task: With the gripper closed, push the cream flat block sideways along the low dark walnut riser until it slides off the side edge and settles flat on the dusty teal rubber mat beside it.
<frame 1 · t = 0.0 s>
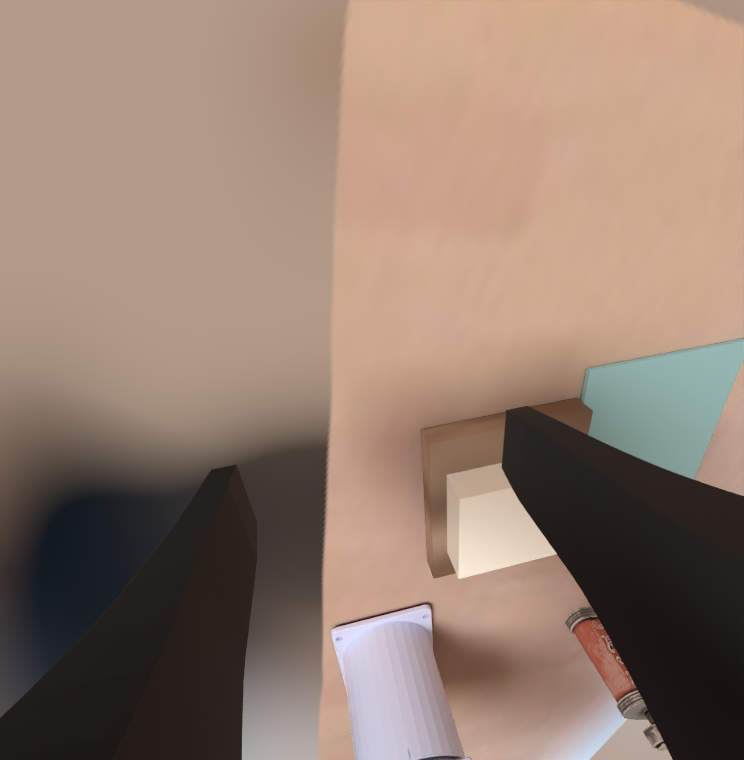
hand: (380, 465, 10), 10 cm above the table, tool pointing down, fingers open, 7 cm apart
riser: (495, 486, 27), on the table
lighter: (597, 615, 39), on the table
mat: (638, 454, 28), on the table
cream flat block: (498, 504, 25), point 1 cm above the table, touching riser
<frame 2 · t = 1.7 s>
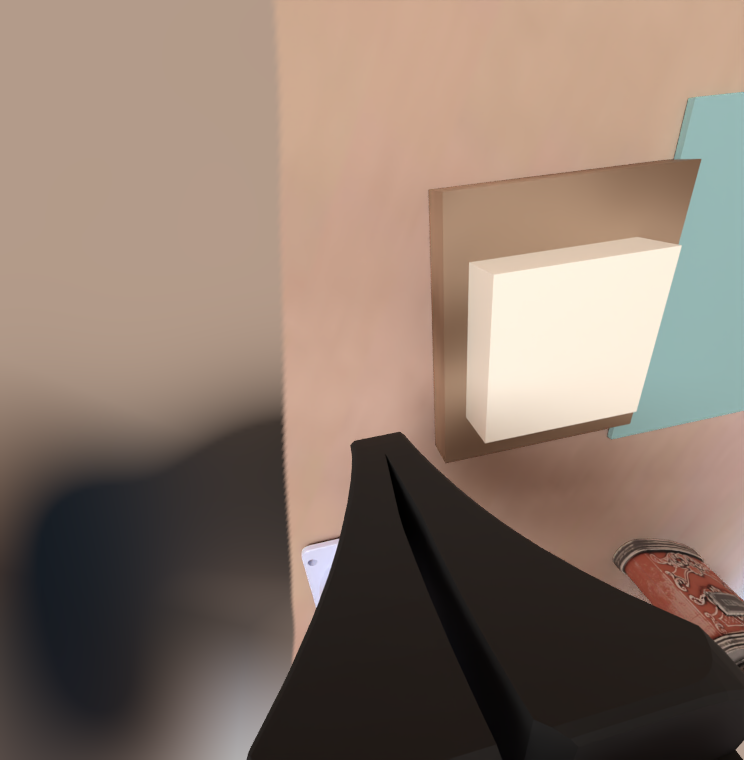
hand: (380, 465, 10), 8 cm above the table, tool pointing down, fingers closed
riser: (536, 320, 18), on the table
lighter: (652, 553, 30), on the table
mat: (739, 285, 19), on the table
cream flat block: (545, 333, 17), point 1 cm above the table, touching riser
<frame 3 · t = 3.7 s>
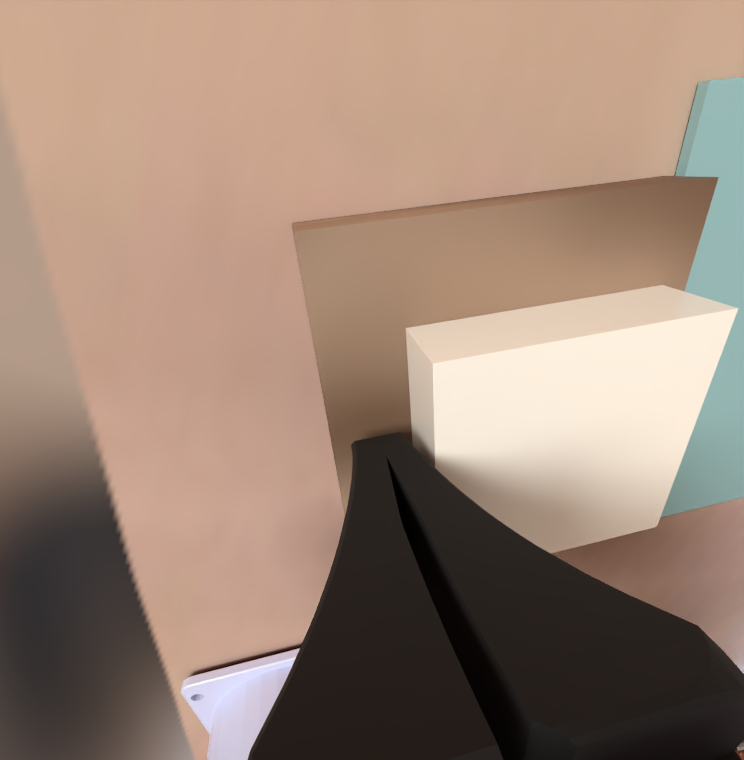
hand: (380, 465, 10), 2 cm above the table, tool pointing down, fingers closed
riser: (480, 398, 13), on the table
cream flat block: (526, 419, 12), point 2 cm above the table
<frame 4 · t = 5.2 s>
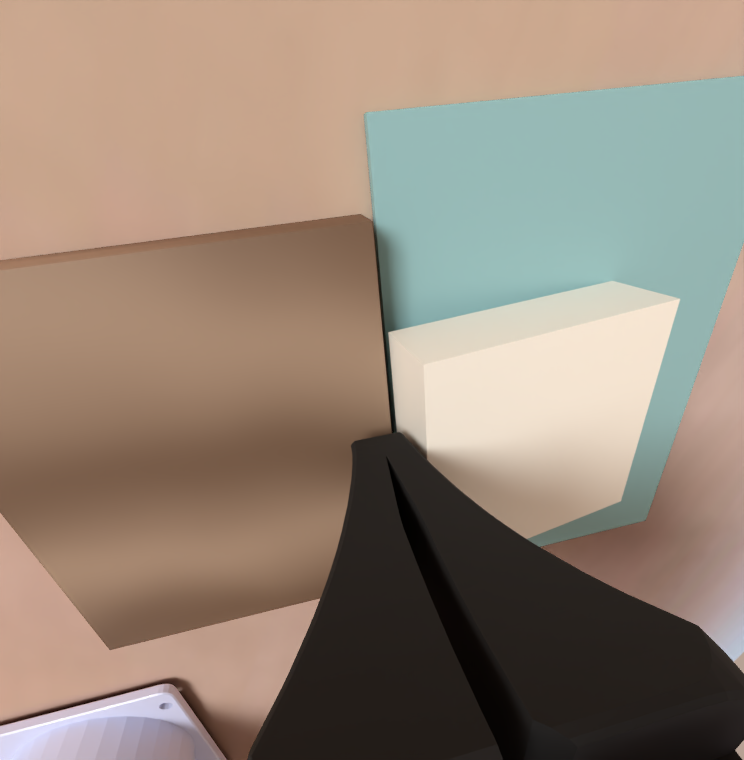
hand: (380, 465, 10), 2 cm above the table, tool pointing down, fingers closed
riser: (220, 448, 12), on the table
mat: (550, 384, 13), on the table
cream flat block: (501, 412, 12), point 1 cm above the table, tilted 8°, touching mat
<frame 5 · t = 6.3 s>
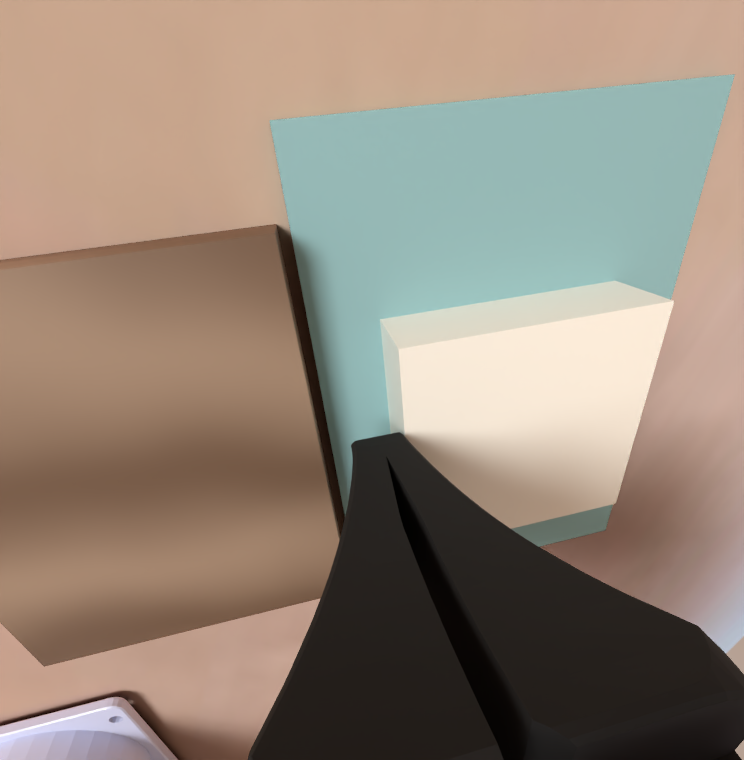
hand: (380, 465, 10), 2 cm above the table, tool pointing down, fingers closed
riser: (150, 462, 12), on the table
mat: (494, 394, 13), on the table
cream flat block: (495, 404, 13), resting on mat, touching gripper
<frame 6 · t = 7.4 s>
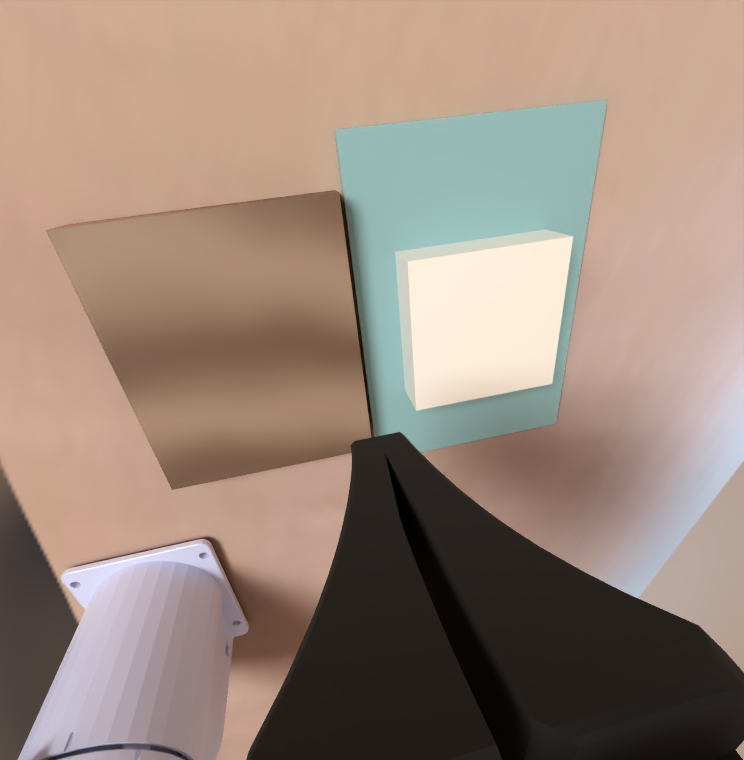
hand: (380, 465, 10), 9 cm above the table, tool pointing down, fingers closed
riser: (246, 348, 18), on the table
mat: (469, 310, 19), on the table
cream flat block: (470, 315, 19), resting on mat
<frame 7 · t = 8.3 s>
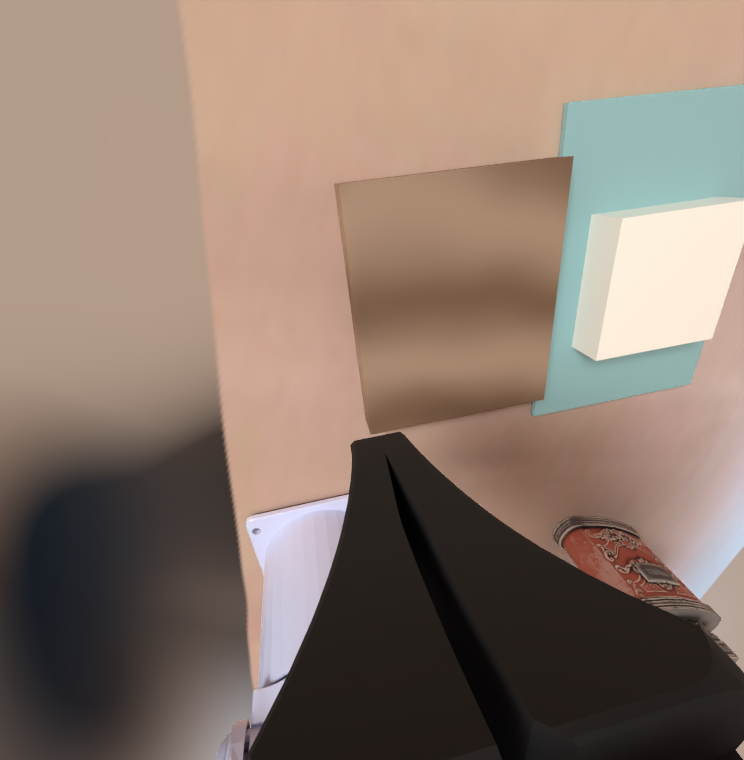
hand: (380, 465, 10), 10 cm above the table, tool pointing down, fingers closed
riser: (448, 303, 20), on the table
lighter: (592, 531, 32), on the table
mat: (637, 271, 21), on the table
cream flat block: (640, 276, 21), resting on mat
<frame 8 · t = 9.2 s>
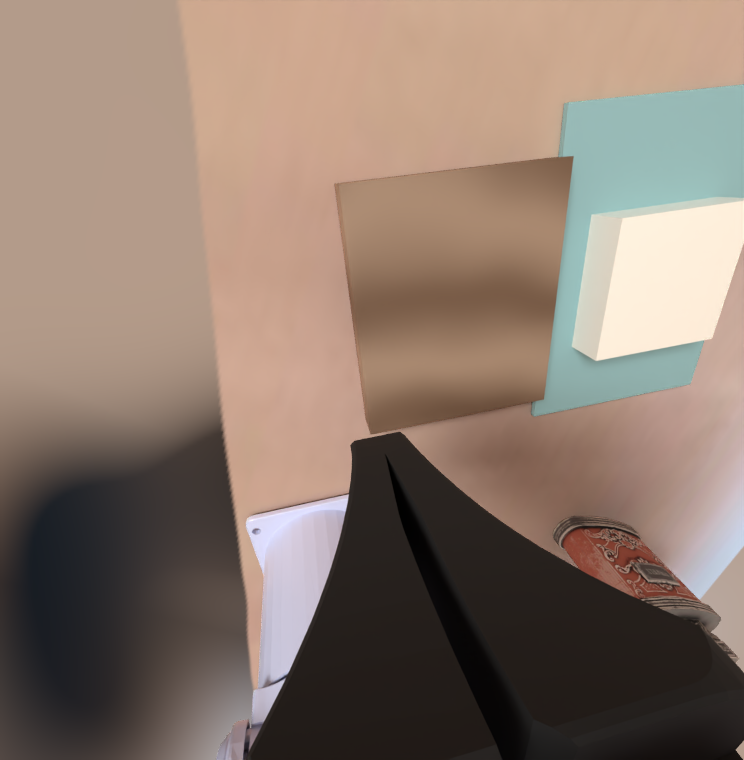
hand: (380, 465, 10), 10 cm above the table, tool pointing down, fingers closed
riser: (448, 303, 20), on the table
lighter: (592, 531, 32), on the table
mat: (637, 271, 21), on the table
cream flat block: (640, 276, 21), resting on mat
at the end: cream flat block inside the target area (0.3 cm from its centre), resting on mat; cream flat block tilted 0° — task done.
